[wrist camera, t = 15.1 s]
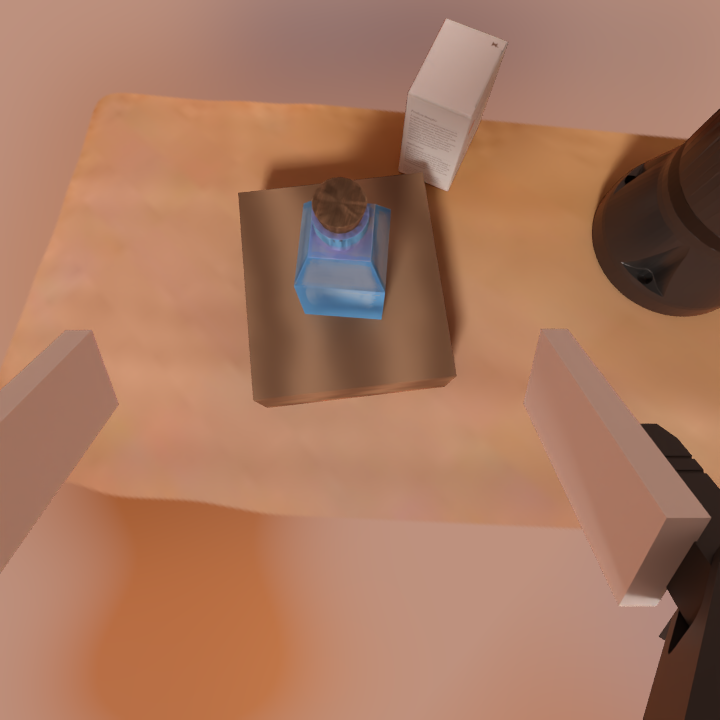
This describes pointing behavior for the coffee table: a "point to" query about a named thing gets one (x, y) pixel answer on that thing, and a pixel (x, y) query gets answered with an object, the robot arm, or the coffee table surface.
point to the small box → (448, 101)
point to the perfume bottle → (342, 252)
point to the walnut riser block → (334, 333)
